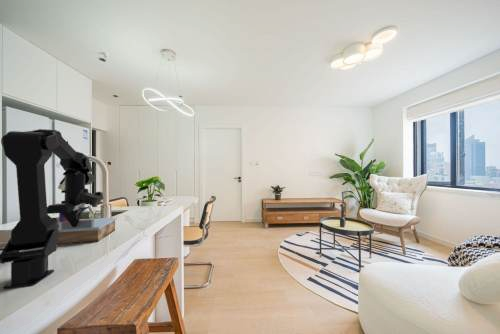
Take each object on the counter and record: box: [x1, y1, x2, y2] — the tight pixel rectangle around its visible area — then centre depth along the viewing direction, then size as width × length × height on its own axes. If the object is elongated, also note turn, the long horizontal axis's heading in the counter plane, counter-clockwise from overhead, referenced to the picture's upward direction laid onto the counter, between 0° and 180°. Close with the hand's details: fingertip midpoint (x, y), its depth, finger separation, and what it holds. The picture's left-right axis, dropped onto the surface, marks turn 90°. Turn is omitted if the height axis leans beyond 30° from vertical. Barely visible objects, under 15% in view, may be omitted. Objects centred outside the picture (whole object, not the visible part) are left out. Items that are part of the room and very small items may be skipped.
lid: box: [58, 216, 118, 232], centre depth 79 cm, size 15×15×4 cm
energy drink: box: [58, 213, 68, 228], centre depth 86 cm, size 5×5×12 cm
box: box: [57, 220, 116, 246], centre depth 79 cm, size 14×14×5 cm
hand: (74, 226), depth 71 cm, fingers closed
